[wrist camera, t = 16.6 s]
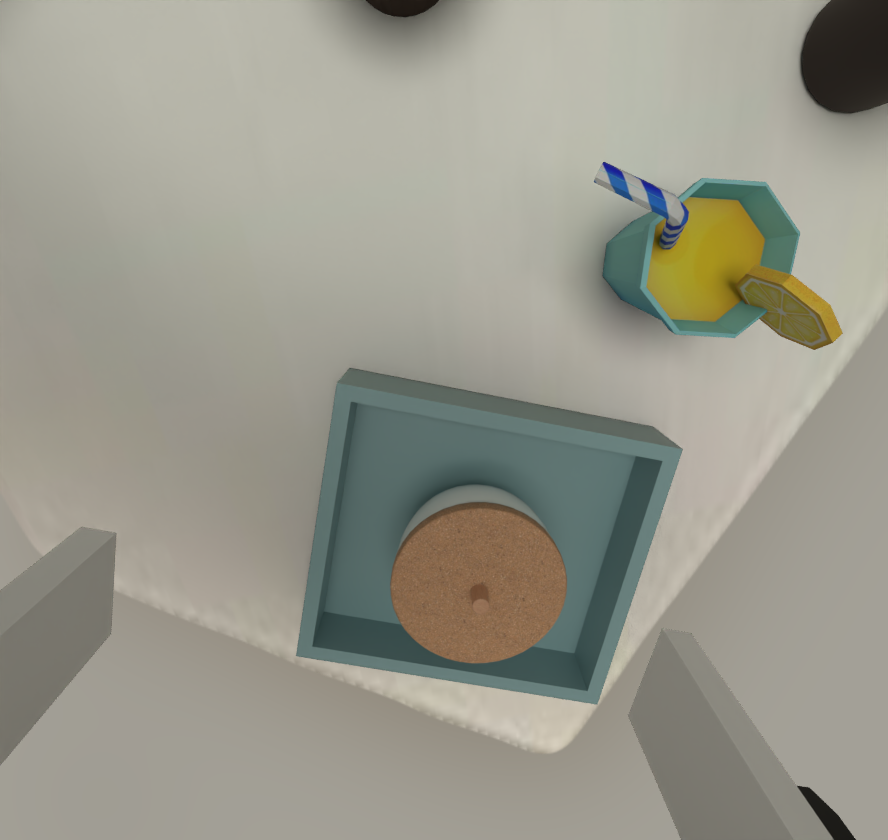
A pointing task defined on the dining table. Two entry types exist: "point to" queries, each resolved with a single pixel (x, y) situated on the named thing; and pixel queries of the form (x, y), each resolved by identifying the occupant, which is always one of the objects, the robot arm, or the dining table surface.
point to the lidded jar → (477, 576)
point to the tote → (494, 464)
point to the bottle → (848, 55)
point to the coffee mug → (402, 6)
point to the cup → (713, 261)
